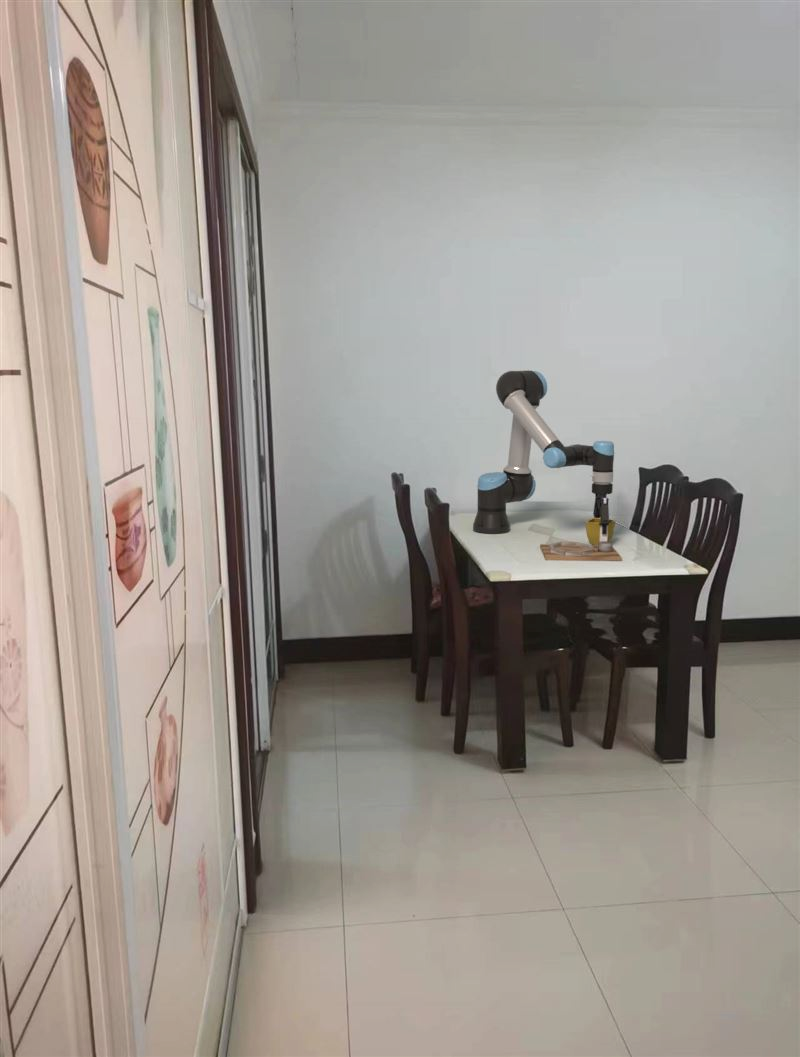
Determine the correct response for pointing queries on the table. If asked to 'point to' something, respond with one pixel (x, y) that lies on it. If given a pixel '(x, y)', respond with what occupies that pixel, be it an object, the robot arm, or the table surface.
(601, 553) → the carrier board
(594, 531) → the flower pot
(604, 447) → the robot arm
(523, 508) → the table surface
